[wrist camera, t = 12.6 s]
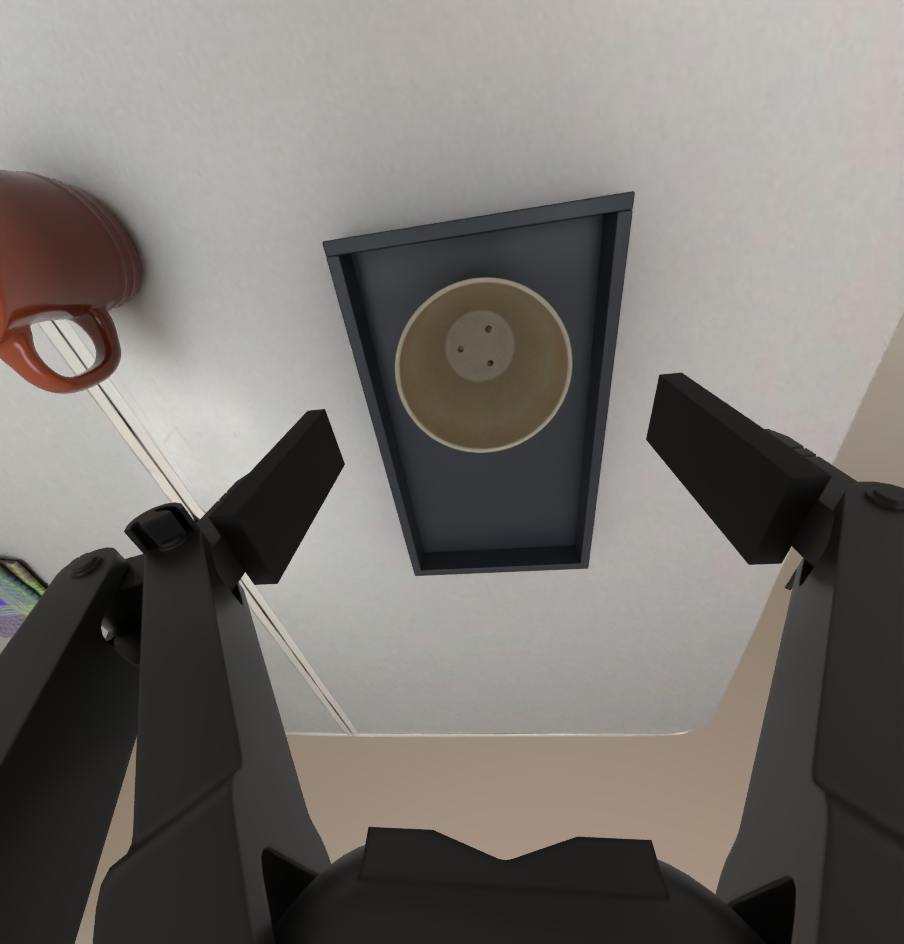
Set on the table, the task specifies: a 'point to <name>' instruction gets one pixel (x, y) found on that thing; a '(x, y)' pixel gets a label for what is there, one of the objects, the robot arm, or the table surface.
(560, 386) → the flower pot
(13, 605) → the dish towel
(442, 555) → the tray
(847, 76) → the table surface
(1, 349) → the mug
